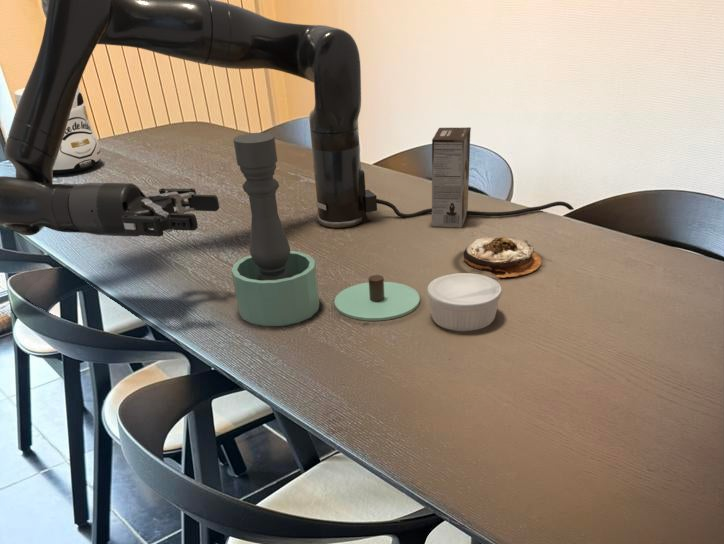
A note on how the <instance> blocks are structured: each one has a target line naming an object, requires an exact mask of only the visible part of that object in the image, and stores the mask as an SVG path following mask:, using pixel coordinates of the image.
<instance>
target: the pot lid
mask: <svg viewBox="0 0 724 544" xmlns="http://www.w3.org/2000/svg"><path fill="white" fill-rule="evenodd" d="M420 302H421V298H420V294H419V292H418V291H417V290H416V289H415V288H412V286H409V285H406V284H403V283H399V282H394V281H393V282H392V281H385V278H384V276H383V275H380V274H373V275H370V276H368V282H362V283H358V284H354V285H351V286H349V287H346V288H344V289H343V290H341V291H340V292H338V293H337V294H336V296H335V297H334V302H333V303H334V308H335V310H336V311H337V312H338V313H339V314H341V315H343V316H345V317H347V318H350V319H352V320H353V319H354V320H359V321H367V322H380V321H381V322H382V321H389V320H393V319H394V320H395V319H398V318H401V317H402V318H403V317H405V316H407V315H409V314H410V313H412V312H414V311H415V310H416V309H417V308H418V307H419V305H420Z"/></svg>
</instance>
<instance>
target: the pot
mask: <svg viewBox="0 0 724 544" xmlns="http://www.w3.org/2000/svg"><path fill="white" fill-rule="evenodd" d="M286 265H287V266H286V268H285V269H286V270H287V271H288V273H289V274H290V275H291V277H289V278H284V279H279V280H263V281H261V280H256V279H257V278H258V275H259V273H260V272H261V271H259V269H258V266H257V265H256V264H255V262H254V261H253V259H252V257H251V254H250V255H247V256H244V257H242V258H240V259H239V260H237V261H236V262H235V263H234V264H233V266H232V268H231V271H230V272H231V277H232V282H233V289H234V292H235V293H234V294H235V299H236V303H237V304H236V305H237V310H238V314H239V315H240V317H241V319H242V320H243V321H245V322H248V323H250V324H252V325H257V326H262V327H284V326H289V325H293V324H297V323H301V322H303V321H305V320H308V319H310V318H312V317H313V316H314V315H315V314H316V313H317V312H318V311H319V310H320V308H319V307H320V302H321V301H320V294H319V284H318V274H317V264H316V260H315V259H314V258H313V257H312V256H311V255H310V254H307V253H304V252H302V251H296V250H290V256H289V258H288V260H287V262H286Z"/></svg>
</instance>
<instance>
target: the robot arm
mask: <svg viewBox="0 0 724 544" xmlns="http://www.w3.org/2000/svg"><path fill="white" fill-rule="evenodd" d="M41 9H42V12H43V15H44V17H45V25H44V31H43V35H42V39H41V43H40V46H39V50H38V53H37V57H36V60H35V63H34V65H33V67H32V70H31V73H30V75H29V78H28V80H27V82H26V84H25V86H24V88H25V89H24V91H23V94H22V96H21V99H20V101H19V104H18V106H17V107H16V110H15V112H14V116H13V118H12V122H11V125H10V129H9V131H8V134H7V138H6V141H5V146H4V155H5V157H6V159H7V160H8V161H9V162H10V163H11V164H12V165H13V167H14V169H15V176H7V175H1V176H0V227H3V228H5V229H7V230H10V231H12V232H15V233H17V234H19V235H22V236H27V237H28V236H34V235H36V234H38V233H40V232H41V231H42V230H43V229H44V228H47V229H48V230H49V229H50V230H53V231H56V232H60V233H69V234H70V233H71V234H72V233H73V234H74V233H75V234H89V235H95V236H106V237H107V236H108V237H109V236H110V237H135V238H136V237H140V236H143V237H144V236H145V237H158V238H159V237H163V236H164V233H171V232H173V231H189V232H190V231H192V232H193V231H196V230H198V228H199V225H198V220H197V216H196V214H194V213H190V212H195V211H196V212H218V211H219V209H220V202H219V197H218V196H217V195H215V194H197V191H196V188H193V187H192V188H164V187H161V188H160V189H158V192H154V193H149V194H148V196H147V195H145V193H144V192H143V191H142V190H141V189H140V187H139V186H138V185H136V184H134V183H131V182H85V183H53V181H54V180H53V178H54V177H53V174H54V173H53V167H54V165H55V162H56V161H55V160H56V159H57V156H58V152H59V149H60V146H61V143H62V140H63V137H64V133H65V130H66V127H67V123H68V120H69V116H70V112H71V109H72V105H73V102H74V99H75V95H76V92H77V89H78V87H79V86H80V83H81V81H82V77H83V75H84V74H85V73H84V72H85V70H86V68H87V65H88V63H89V61H90V59H91V56H92V55H93V52H94V51H95V48H96V47H97V45H106V46H117V47H127V48H128V47H129V48H134V49H135V48H136V49H140V50H144V51H145V50H146V51H148V52H149V51H150V52H152V53H156V54H160V55H164V56H167V57H171V58H175V59H179V60H184V61H188V62H191V63H195V64H201V65H207V66H212V67H218V68H223V69H233V70H259V69H260V70H261V69H263V70H264V69H266V70H267V69H268V70H274V71H278V72H282V73H285V74H289V75H293V76H296V77H299V78H302V79H305V80H307V81H309V82H311V83H313V87H314V88H313V90H314V106H313V107H314V108H313V109H312V110H311V111H310V112H309V117H308V120H309V132H310V141H311V142H310V143H311V152H312V162H313V172H314V182H315V195H316V201H315V207H316V208H317V221H318V223H319V224H320V225H321V226H323V227H326V228H337V229H338V228H339V229H340V228H349V227H353V226H357V225H359V224H361V223H363V222H367V221H368V215H367V213H372V212H377V211H378V204H379V205H384V206H386V207H389V209H390V208H391V209H392V211H393V212H394V213H395V214H396V216H398V217H400V218H402V219H409V218H415V217H419V216H423V215H425V214H430V213H432V207H431V208H425V209H422V210H420V211H417V212H413V213H403V212H400V210H399V209H398V208H397V206H396V205H394V204H393V203H392V202H389V201H387V200H383V199H379V198H377V195H376V194H375V193H374V192H373V191H371V190H370V189H366V175H365V171H364V169H362V168H361V167H362V166H361V150H360V149H361V148H360V131H359V117H360V113H361V109H362V69H361V67H362V65H361V57H360V51H359V48H358V47H359V46H358V45H357V42H356V40H355V39H354V38H353V36H352V35H351V34H350V33H349V32H347V31H346V30H344V29H341V28H338V27H333V26H329V25H324V24H323V25H321V24H301V23H294V22H293V23H292V22H283V21H278V20H274V19H271V18H268V17H265V16H263V15H261V14H258V13H256V12H254V11H252V10H249V9H247V8H244V7H242V6H238V5H236V4H235V5H234V4H232V3H228V2H224V1H221V0H41ZM185 199H187V201H186V200H185ZM559 206H561V207H565V208H567V209H568V210H569V211H574V210H575V208H574V207H573V206H572V205H571V204H569V203H568V202H565V201H554V202H550V203H547V204H543V205H538V206H531V207H526V208H521V209H517V210H516V209H515V210H508V211H507V210H506V211H476V210H475V211H473V210H468V211H467V213H466V216H474V217H476V216H477V217H508V216H515V215H520V214H525V213H531V212H538V211H543V210H546V209H550V208H553V207H559ZM175 208H176V209H175Z"/></svg>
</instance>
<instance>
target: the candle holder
mask: <svg viewBox="0 0 724 544" xmlns="http://www.w3.org/2000/svg"><path fill="white" fill-rule="evenodd" d="M275 138H276V137H275V135H274V134H273V133H270V132H269V133H268V132H251V133H244V134H240V135H239V134H238V135H237V136H235V137H234V138H233V139H232V140H233V147H234V152H235V159H236V164H237V166H238V167H239V171H240V172H241V173H242V174H243V177H244V178H245V182H244V183H243V184H242V185H241V186H242V190H243V191H244V193H246V194H247V196H248V200H249V201H248V202H249V206H250V212H251V213H250V214H251V223H250V238H249V254H250V255H251V257H252V259H253V261H254V262H255V264H256V265H257V266H258V269H259V271H261V272H260V273H259V275H258V278H257V279H256V280H261V281H263V280H279V279H284V278H289V277H291V275H290V274H289V273H288V271H287V270H286V269H285V268H286V266H287V265H286V262H287V260H288V258H289V256H290V251H291V246H290V244H289V241H288V238H287V234H286V232H285V230H284V227H283V224H282V221H281V218H280V216H279V212H278V203H277V196H276V193H277V190H278V189H279V187H280V183H279V181H278V180H277V179H275V178H274V175H275V171H276V169H277V162H278V154H277V145H276V139H275Z"/></svg>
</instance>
